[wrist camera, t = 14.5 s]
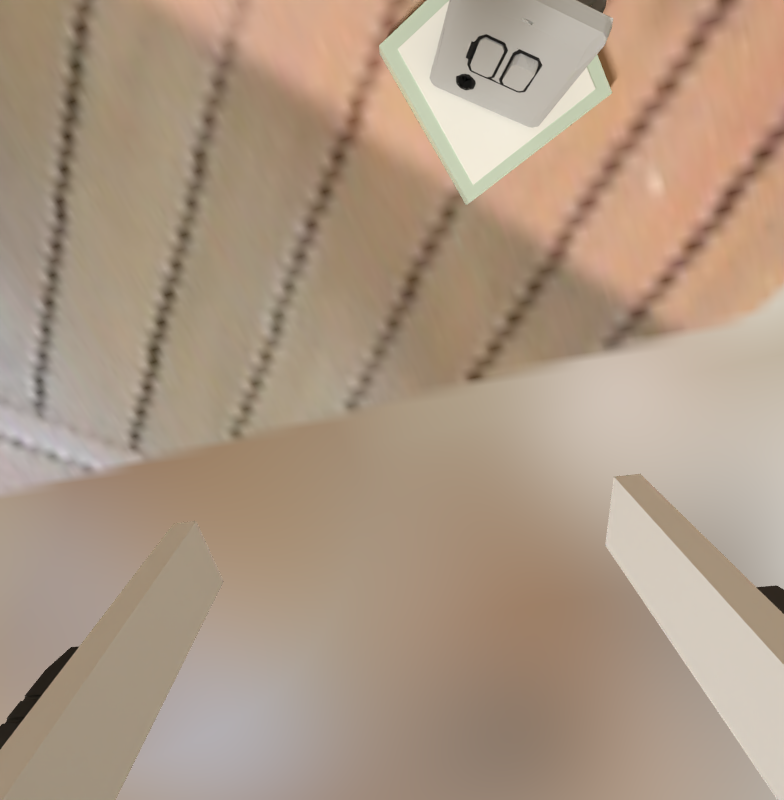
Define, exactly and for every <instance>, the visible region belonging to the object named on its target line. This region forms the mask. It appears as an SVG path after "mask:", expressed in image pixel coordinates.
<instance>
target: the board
mask: <svg viewBox="0 0 784 800" xmlns="http://www.w3.org/2000/svg"><path fill="white" fill-rule="evenodd" d="M448 4H449V0H426V1H425V2H424V3H423V4H422V5H421V6H420V7H419V8H418V9H417V10H416V11H415V12H414V13H413V14H412V15H411V16H410V17H409V18H408V19H406V20H405V21H404V22H403V23H402V24H401V25H400V26H399V27H398V28H397V29H396V30H395V31H394V32H393V33H392V34H391V35H390V36H389V37H388V38H387V39H386V40H385V41H384V42H382V43H381V44H380V45H379V48H380V55H381V57H382V59H383V60H384V62H385V64H386V66H387V67H388V69H389V71H390V73H391V74H392V76H393V78H394V80H395V81H396V83H397V85H398V87H399V88H400V90H401V92H402V94H403V95H404V97H405V99H406V101H407V102H408V104H409V106H410V108H411V109H412V111H413V113H414V115H415V116H416V118H417V120H418V122H419V123H420V125H421V127H422V129H423V130H424V132H425V134H426V136H427V137H428V139H429V141H430V143H431V144H432V146H433V148H434V150H435V151H436V153H437V155H438V157H439V158H440V160H441V162H442V164H443V165H444V167H445V169H446V171H447V172H448V174H449V176H450V178H451V179H452V181H453V183H454V185H455V186H456V188H457V190H458V192H459V193H460V195H461V197H462V199H463V200H464V202H465V204H469V203H470V202H471V201H473V200H474V199H475V198H477V197H478V196H479V195H480V194H482V193H483V192H484V191H486V190H487V189H488V188H490V187H491V186H492V185H493V184H495V183H496V182H497V181H499V180H500V179H501V178H503V177H504V176H505V175H506V174H508V173H509V172H510V171H512V170H513V169H514V168H516V167H517V166H518V165H519V164H521V163H522V162H523V161H525V160H526V159H527V158H529V157H530V156H531V155H532V154H534V153H535V152H536V151H538V150H539V149H540V148H541V147H543V146H544V145H545V144H547V143H548V142H549V141H551V140H552V139H553V138H554V137H556V136H557V135H558V134H560V133H561V132H562V131H564V130H565V129H566V128H567V127H569V126H570V125H571V124H573V123H574V122H575V121H577V120H578V119H579V118H580V117H582V116H583V115H584V114H586V113H587V112H588V111H590V110H591V109H592V108H593V107H595V106H596V105H597V104H599V103H600V102H601V101H602V100H604V99H605V98H606V97H608V96H609V95H610V94H612V91H611V88H610V86H609V83H608V81H607V78H606V76H605V73H604V70H603V68H602V65H601V63H600V60H599V58H598V55H596V56H595V57H594V59H593V60H592V61H591V62H590V64H589V65H588V66H587V67H586V69H585V70H584V71H583V72H582V73H581V75H580V76H579V77H578V78H577V80H576V81H575V82H574V83H573V85H572V86H571V87H570V88H569V89H568V91H567V92H566V93H565V94H564V96H563V97H562V98H561V99H560V100H559V102H558V103H557V104H556V105H555V107H554V108H553V109H552V110H551V112H550V113H549V114H548V115H547V116H546V118H545V119H544V120H543V121H542V123H541V124H540V125H539V126H537V127H533V128H531V127H527V126H525V125H523V124H521V123H518V122H516V121H514V120H511V119H509V118H507V117H504V116H502V115H500V114H497V113H495V112H493V111H491V110H488V109H486V108H484V107H481V106H479V105H477V104H474V103H472V102H470V101H468V100H465V99H463V98H461V97H458V96H456V95H454V94H451V93H449V92H447V91H445V90H442V89H440V88H438V87H436V86H434V85H433V84H432V82H431V80H430V74H431V69H432V65H433V62H434V57H435V55H436V51H437V47H438V43H439V39H440V35H441V31H442V28H443V24H444V20H445V16H446V12H447V8H448Z"/></svg>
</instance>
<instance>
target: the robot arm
mask: <svg viewBox="0 0 784 800" xmlns="http://www.w3.org/2000/svg"><path fill="white" fill-rule="evenodd" d="M605 545H606V547H607V548H608V550H609V551H610V553H611V554H612V556H613V557H614V559H615V560H616V562H617V563H618V565H619V566H620V568H621V569H622V571H623V572H624V574H625V575H626V577H627V578H628V579H629V581H630V582H631V584H632V585H633V587H634V588H635V590H636V591H637V593H638V594H639V596H640V597H641V599H642V600H643V602H644V603H645V605H646V606H647V608H648V609H649V610H650V612H651V614H652V615H653V617H654V618H655V619H656V621H657V622H658V624H659V625H660V627H661V628H662V630H663V631H664V633H665V634H666V636H667V637H668V639H669V640H670V642H671V643H672V645H673V646H674V648H675V649H676V651H677V652H678V654H679V655H680V656H681V658H682V659H683V661H684V662H685V664H686V665H687V667H688V668H689V670H690V671H691V673H692V674H693V676H694V677H695V679H696V680H697V682H698V683H699V685H700V686H701V688H702V689H703V691H704V692H705V693H706V695H707V696H708V698H709V699H710V701H711V702H712V704H713V705H714V707H715V708H716V710H717V711H718V713H719V714H720V716H721V717H722V719H723V720H724V721H725V723H726V725H727V726H728V727H729V729H730V730H731V732H732V733H733V735H734V736H735V738H736V739H737V741H738V742H739V744H740V745H741V747H742V748H743V750H744V751H745V753H746V754H747V756H748V757H749V759H750V760H751V761H752V763H753V764H754V766H755V767H756V769H757V770H758V772H759V773H760V775H761V776H762V778H763V779H764V781H765V782H766V784H767V785H768V786H769V788H770V790H771V791H772V793H773V794H774V796H775V797H776V798H777V800H784V590H783V589H781V588H780V587H778V586H766V587H755V586H754V585H753V584H752V583H751V582H750V581H749V580H748V579H747V578H746V577H745V576H744V575H743V574H742V573H741V572H740V571H739V570H738V569H737V568H736V567H735V566H734V565H733V564H732V563H731V562H730V561H729V560H728V559H727V558H726V557H725V556H724V555H723V554H722V553H721V552H720V551H718V550H717V548H716V547H714V546H713V545H712V544H711V543H710V542H709V541H708V540H707V539H706V538H705V537H704V536H703V535H702V534H701V533H700V532H699V531H698V530H697V529H696V528H695V527H694V526H693V525H692V524H691V523H690V522H689V521H688V520H687V519H686V518H685V517H684V516H683V515H682V514H681V513H680V512H678V510H676V508H675V507H674V506H673V505H672V504H670V503H669V502H668V501H667V500H666V499H665V498H664V497H663V496H662V495H661V494H660V493H659V492H658V491H657V490H656V489H655V488H654V487H653V486H652V485H651V484H650V483H649V482H648V481H647V480H646V479H645V478H644V477H643V476H642V475H641V474H635V475H626V476H617V477H614V481H613V488H612V496H611V504H610V513H609V520H608V528H607V536H606V544H605ZM222 584H223V579H222V577H221V575H220V573H219V570H218V568H217V566H216V564H215V562H214V560H213V557H212V555H211V553H210V550H209V548H208V546H207V544H206V542H205V539H204V537H203V535H202V533H201V531H200V528H199V526H198V524H197V522H196V521H193V522H184V523H175V524H173V525H172V527H171V528H170V529H169V530H168V532H167V533H166V534H165V536H164V537H163V538H162V539H161V541H160V542H159V543H158V545H157V546H156V547H155V549H154V550H153V551H152V552H151V554H150V555H149V556H148V558H147V559H146V561H145V562H144V563H143V564H142V566H141V567H140V568H139V569H138V571H137V572H136V573H135V575H134V576H133V577H132V579H131V580H130V581H129V582H128V584H127V585H126V586H125V588H124V589H123V590H122V592H121V593H120V594H119V595H118V597H117V598H116V599H115V601H114V602H113V603H112V605H111V606H110V607H109V609H108V610H107V611H106V612H105V614H104V615H103V616H102V618H101V619H100V620H99V622H98V623H97V624H96V625H95V627H94V628H93V629H92V631H91V632H90V633H89V635H88V636H87V637H86V639H85V640H84V641H83V642H82V644H81V645H80V646H79V647H71V648H70V649H68V650H67V651H66V652H65V653H64V654H63V655H62V656H61V657H60V658H58V660H56V661H55V662H54V663H53V664H52V665H51V666H49V667H48V668H47V669H46V670H45V671H44V673H43V674H42V675H41V676H40V678H39V679H38V680H37V681H36V683H35V684H34V685H33V686H32V687H31V689H30V690H29V691H28V693H27V694H26V695H25V699H24V700H23V701H20V703H19V704H18V705H17V706H16V707H15V709H14V710H13V711H12V713H11V714H10V715H9V716H8V718H7V722H6V723H5V724H2V725H1V726H0V800H116V798H117V796H118V794H119V792H120V790H121V788H122V786H123V784H124V782H125V779H126V777H127V776H128V774H129V771H130V770H131V768H132V766H133V763H134V762H135V759H136V757H137V755H138V753H139V751H140V749H141V747H142V745H143V743H144V741H145V739H146V737H147V735H148V733H149V731H150V729H151V727H152V725H153V723H154V721H155V719H156V717H157V715H158V713H159V711H160V709H161V707H162V705H163V703H164V701H165V699H166V697H167V695H168V693H169V691H170V689H171V687H172V685H173V683H174V681H175V679H176V677H177V675H178V673H179V670H180V669H181V667H182V664H183V663H184V660H185V658H186V656H187V654H188V652H189V650H190V648H191V646H192V644H193V642H194V640H195V638H196V636H197V634H198V632H199V630H200V628H201V626H202V624H203V622H204V620H205V618H206V616H207V614H208V612H209V610H210V608H211V606H212V604H213V602H214V600H215V598H216V596H217V594H218V592H219V590H220V588H221V586H222Z"/></svg>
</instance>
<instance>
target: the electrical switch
mask: <svg viewBox="0 0 784 800" xmlns="http://www.w3.org/2000/svg"><path fill="white" fill-rule="evenodd" d="M591 5H592V6H591ZM590 6H591V7H590ZM605 6H606V0H449V4H448V8H447V12H446V16H445V20H444V24H443V28H442V31H441V35H440V39H439V43H438V47H437V51H436V55H435V57H434V62H433V65H432V69H431V74H430V80H431V82H432V84H433V85H434V86H436V87H438V88H440V89H442V90H445V91H447V92H449V93H451V94H454V95H456V96H458V97H461V98H463V99H465V100H468V101H470V102H472V103H474V104H477V105H479V106H481V107H484V108H486V109H488V110H491V111H493V112H495V113H497V114H500V115H502V116H504V117H507V118H509V119H511V120H514V121H516V122H518V123H521V124H523V125H525V126H527V127H531V128H533V127H537V126H539V125H540V124H541V123H542V121H543V120H544V119H545V118H546V116H547V115H548V114H549V113H550V112H551V110H552V109H553V108H554V107H555V105H556V104H557V103H558V102H559V100H560V99H561V98H562V97H563V96H564V94H565V93H566V92H567V91H568V89H569V88H570V87H571V86H572V85H573V83H574V82H575V81H576V80H577V78H578V77H579V76H580V75H581V73H582V72H583V71H584V70H585V69H586V67H587V66H588V65H589V64H590V62H591V61H592V60H593V59H594V57H595V56H596V55H597V54H598V53H599V51H600V50H601V49H602V48H603V46H604V45H605V43H606V41H607V38H608V36H609V34H610V31H611V29H612V22H613V18H611V17H609V16H607V15H605V14H603V11H604V9H605Z"/></svg>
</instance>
